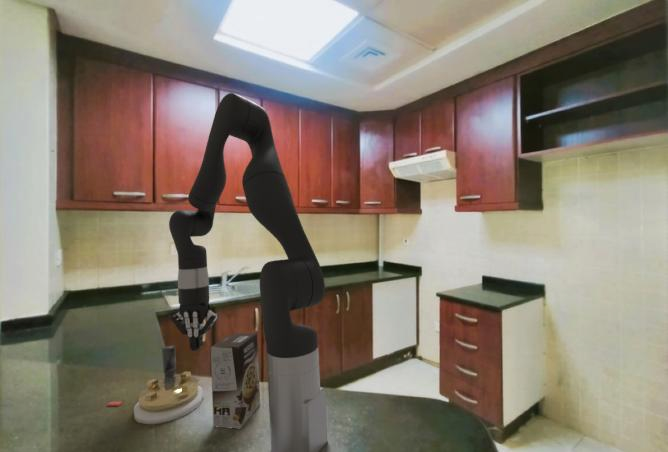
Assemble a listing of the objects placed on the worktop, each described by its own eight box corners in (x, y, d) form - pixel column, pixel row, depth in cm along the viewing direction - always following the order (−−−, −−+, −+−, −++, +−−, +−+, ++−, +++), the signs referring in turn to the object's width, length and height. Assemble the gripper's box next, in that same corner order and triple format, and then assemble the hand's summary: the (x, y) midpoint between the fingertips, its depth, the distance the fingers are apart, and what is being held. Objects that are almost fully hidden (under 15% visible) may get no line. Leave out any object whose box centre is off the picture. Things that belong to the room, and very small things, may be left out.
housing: (216, 396, 74) (215, 389, 74) (160, 430, 62) (160, 423, 62) (177, 386, 81) (177, 380, 81) (120, 415, 68) (120, 408, 68)
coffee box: (241, 430, 61) (238, 347, 61) (212, 427, 62) (208, 346, 62) (261, 404, 70) (258, 332, 70) (235, 402, 71) (232, 332, 71)
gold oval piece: (200, 400, 69) (199, 364, 69) (136, 418, 63) (135, 378, 63) (194, 370, 85) (193, 341, 85) (143, 382, 80) (142, 350, 80)
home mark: (123, 403, 73) (122, 401, 73) (118, 406, 72) (118, 404, 72) (111, 403, 74) (111, 401, 74) (107, 406, 73) (107, 404, 73)
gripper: (223, 281, 86) (226, 344, 86) (179, 283, 88) (181, 344, 87) (209, 286, 78) (212, 355, 78) (161, 288, 80) (164, 355, 80)
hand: (196, 349), depth 83 cm, fingers closed
